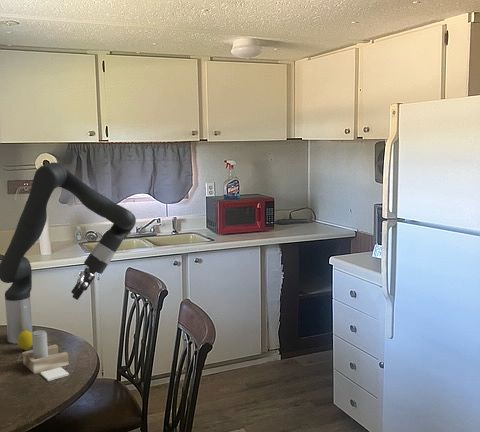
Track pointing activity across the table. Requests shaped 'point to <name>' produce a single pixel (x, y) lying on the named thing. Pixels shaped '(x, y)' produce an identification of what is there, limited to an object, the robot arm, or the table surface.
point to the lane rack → (45, 360)
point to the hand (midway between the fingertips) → (74, 296)
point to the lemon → (25, 340)
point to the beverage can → (39, 344)
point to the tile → (54, 373)
